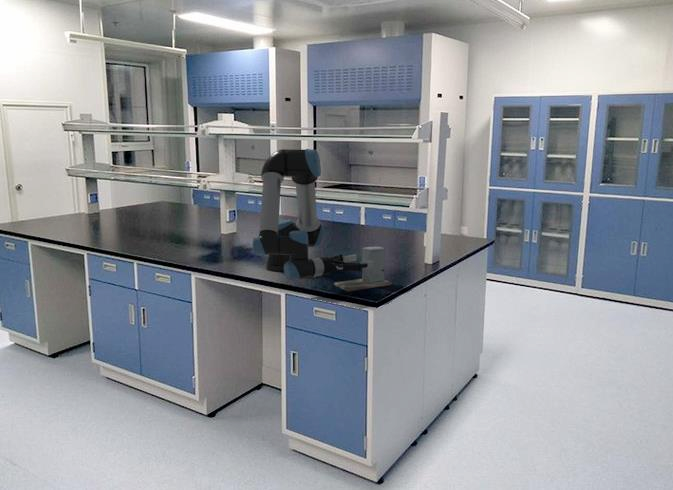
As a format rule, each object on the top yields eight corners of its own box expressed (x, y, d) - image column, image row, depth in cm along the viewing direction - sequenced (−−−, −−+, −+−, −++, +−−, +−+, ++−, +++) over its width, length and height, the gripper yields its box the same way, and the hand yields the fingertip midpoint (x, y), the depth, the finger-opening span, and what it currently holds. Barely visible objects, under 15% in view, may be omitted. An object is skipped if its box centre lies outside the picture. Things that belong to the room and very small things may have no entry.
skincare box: (369, 283, 236) (369, 249, 233) (361, 280, 241) (361, 247, 238) (384, 280, 241) (385, 247, 238) (376, 277, 246) (377, 245, 243)
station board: (333, 284, 239) (333, 282, 239) (376, 278, 249) (376, 276, 249) (347, 291, 229) (347, 289, 228) (391, 284, 239) (391, 282, 238)
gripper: (307, 269, 238) (349, 263, 248) (335, 282, 217) (380, 275, 227) (307, 252, 237) (349, 247, 247) (335, 263, 215) (380, 257, 226)
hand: (364, 260), depth 237 cm, fingers open, 13 cm apart
